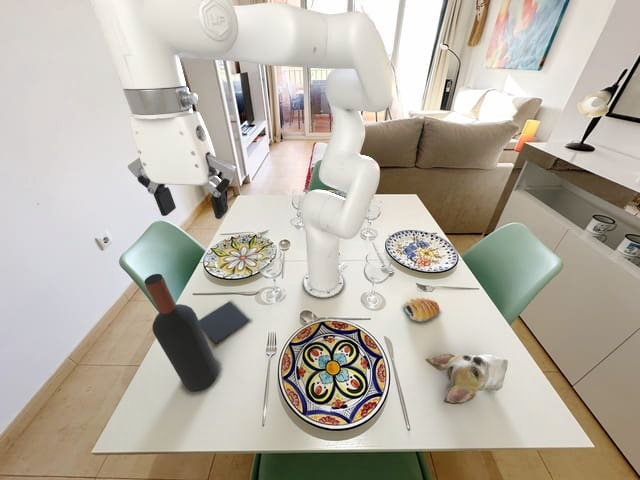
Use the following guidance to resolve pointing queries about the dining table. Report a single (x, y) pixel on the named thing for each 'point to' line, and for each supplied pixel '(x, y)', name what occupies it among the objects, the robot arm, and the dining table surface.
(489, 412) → the dining table surface
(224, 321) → the mat
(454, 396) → the ceramic sculpture
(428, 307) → the pastry
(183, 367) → the wine bottle
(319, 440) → the dining table surface
